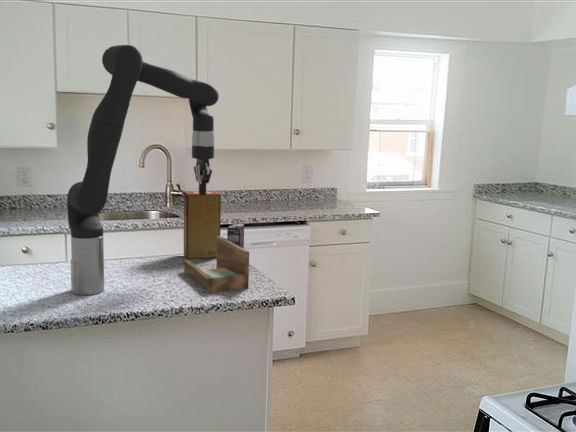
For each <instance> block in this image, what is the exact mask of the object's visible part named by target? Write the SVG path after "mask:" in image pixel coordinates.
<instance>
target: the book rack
mask: <svg viewBox="0 0 576 432" xmlns="http://www.w3.org/2000/svg"><path fill="white" fill-rule="evenodd" d="M183 265H184V267H183V268H184V270H183V272H184V273H185V274H186V275H187V274H188V275H187V276H189V277H190V278H191V279H192V280H193V281H194V282H195V283H197V284H198V285H199V286H200V287H202V288H203V289H204V290H205V291H206V292H208V293H216V292H217V293H218V292H226V291H234V290H245V289H249V275H250V272H249V271H250V251H248V250H247V249H245V248H244V249H243V248H242V247H240V246H238V245H236V244H234V243H233V242H231V241H229V240H227V238H225V237H223V236H221V235H220V236H217V258H216V269H218V268H226V269H228V270H230V271H232V272H234V273H237V274H238V275H227V276H216V277H209V276H208V275H207V274H205V273H204V272H203V271H201V270H202V269H200V268H198V267H197V266H196V265H195V264H193V262H191V261H190V260H189V259H187V260H184V263H183Z"/></svg>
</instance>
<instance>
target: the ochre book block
mask: <svg viewBox="0 0 576 432" xmlns="http://www.w3.org/2000/svg"><path fill="white" fill-rule="evenodd" d="M200 270H201V271H203V272H204V273H205V274H208V273H216V272H224V271H230V270H228V269H226V268H218V269H217V268H211V269H200Z"/></svg>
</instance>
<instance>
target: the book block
mask: <svg viewBox="0 0 576 432" xmlns="http://www.w3.org/2000/svg"><path fill="white" fill-rule="evenodd" d="M207 275H208V276H209V277H216V276H227V275H238V274H237V273H234V272H232V271H224V272H216V273H208V274H207Z"/></svg>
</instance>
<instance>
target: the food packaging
mask: <svg viewBox="0 0 576 432" xmlns="http://www.w3.org/2000/svg"><path fill="white" fill-rule="evenodd" d="M221 196H222V194H221V193H220V192H218V191H215V190H213V191H208V190H206V195H200V194H199V190H198V191H194V190H193V191H187V190H186V191H184V192H183V255H184V257H185V258H186V259H187V260H190V259H193V260H194V259H217V236H221V216H222V215H221V213H222V212H221V208H222V205H221V203H222V202H221V200H222V197H221Z"/></svg>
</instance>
